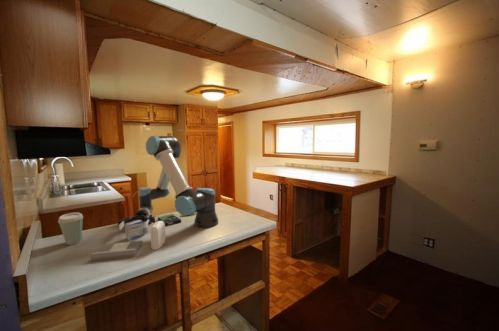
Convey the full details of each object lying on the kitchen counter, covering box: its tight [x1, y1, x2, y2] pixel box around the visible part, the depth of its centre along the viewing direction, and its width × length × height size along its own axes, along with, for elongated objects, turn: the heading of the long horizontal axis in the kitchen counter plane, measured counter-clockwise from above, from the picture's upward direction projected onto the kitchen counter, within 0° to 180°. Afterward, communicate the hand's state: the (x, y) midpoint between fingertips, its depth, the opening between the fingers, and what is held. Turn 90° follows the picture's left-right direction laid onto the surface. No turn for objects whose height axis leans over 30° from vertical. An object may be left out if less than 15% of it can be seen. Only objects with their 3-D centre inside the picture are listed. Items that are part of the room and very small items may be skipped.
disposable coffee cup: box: [57, 212, 84, 246], centre depth 120 cm, size 11×11×15 cm
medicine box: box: [124, 220, 144, 241], centre depth 126 cm, size 8×4×9 cm, turn 149°
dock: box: [90, 240, 143, 262], centre depth 111 cm, size 18×15×3 cm
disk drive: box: [157, 213, 182, 227], centre depth 152 cm, size 10×3×15 cm
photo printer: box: [150, 220, 166, 251], centre depth 116 cm, size 10×4×12 cm, turn 179°
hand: (133, 226), depth 126 cm, fingers open, 13 cm apart
